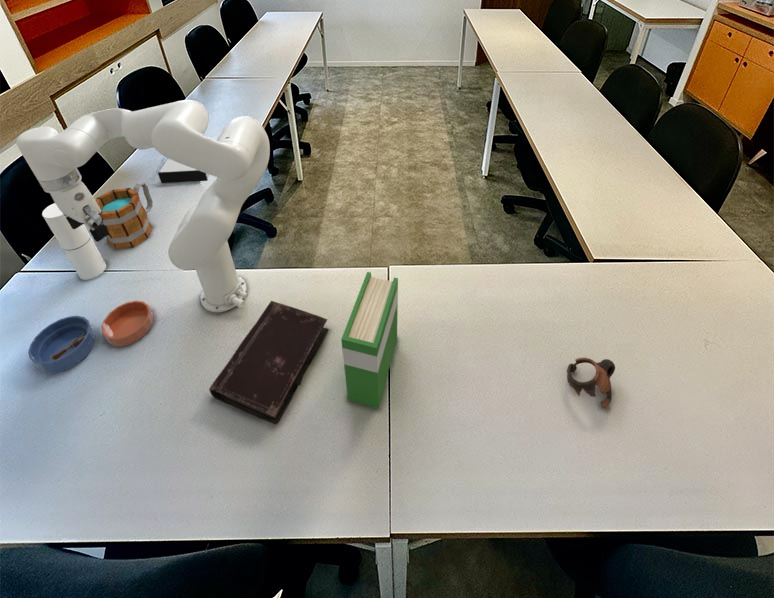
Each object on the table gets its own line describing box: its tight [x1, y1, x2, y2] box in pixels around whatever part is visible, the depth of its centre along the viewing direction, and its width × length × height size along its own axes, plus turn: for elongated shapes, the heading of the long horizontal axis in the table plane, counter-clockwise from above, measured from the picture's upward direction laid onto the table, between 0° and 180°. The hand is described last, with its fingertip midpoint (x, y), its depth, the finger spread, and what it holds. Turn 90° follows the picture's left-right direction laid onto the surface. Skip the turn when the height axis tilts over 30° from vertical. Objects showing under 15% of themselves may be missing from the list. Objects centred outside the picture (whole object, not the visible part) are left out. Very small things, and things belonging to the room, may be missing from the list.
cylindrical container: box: [41, 202, 107, 281], centre depth 124 cm, size 7×7×25 cm
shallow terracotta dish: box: [100, 300, 155, 347], centre depth 114 cm, size 11×11×3 cm
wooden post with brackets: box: [50, 334, 85, 360], centre depth 108 cm, size 2×8×4 cm
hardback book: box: [340, 271, 399, 409], centre depth 98 cm, size 18×7×24 cm, turn 165°
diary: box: [209, 300, 330, 425], centre depth 104 cm, size 19×25×5 cm
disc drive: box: [157, 158, 210, 184], centre depth 175 cm, size 18×22×5 cm
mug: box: [95, 181, 153, 250], centre depth 141 cm, size 20×14×15 cm
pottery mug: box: [566, 357, 616, 409], centre depth 100 cm, size 12×10×8 cm
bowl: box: [27, 315, 97, 374], centre depth 108 cm, size 13×13×4 cm
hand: (90, 231), depth 107 cm, fingers open, 9 cm apart
